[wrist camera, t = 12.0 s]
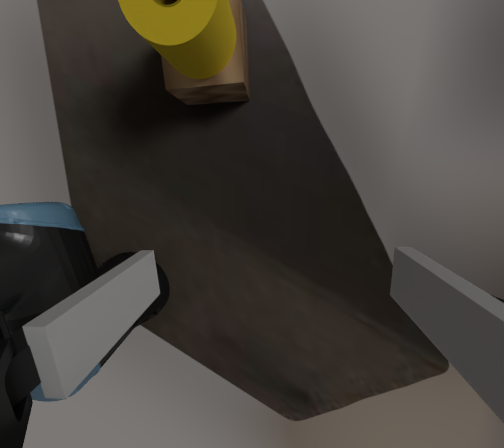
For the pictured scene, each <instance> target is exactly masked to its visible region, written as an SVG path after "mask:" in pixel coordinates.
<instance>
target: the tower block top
mask: <svg viewBox="0 0 504 448" xmlns="http://www.w3.org/2000/svg"><path fill="white" fill-rule="evenodd" d="M228 1H229V4H230V8H231V11H232V15H233V18H234V22H235V27H236V44H235V49H234V52H233V55H232V57H231V59H230V61H229V62H228V64H227V65H226V66H225V67H224V69H223V70H221V71H220V72H219V73H218V74H216V75H214V76H212V77H210V78H206V79H193V78H189V77H187V76H184V75H183V74H181V73H180V72H178V71H177V70H176V69H175V68H174V67H173V66H172V65H171V64H170V63H169V62H168V61H167V60H166V59H165V58H164V57H163V56H162V55H161V59H162V66H163V74H164V81H165V89H166V91H168V92H169V93H171V94H172V95H174V96H175V97H177V98H178V99H182V98H192V97H203V96H213V95H223V94H233V93H244V92H248V90H247V73H246V57H245V40H244V23H243V7H242V2H241V0H228Z"/></svg>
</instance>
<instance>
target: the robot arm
mask: <svg viewBox="0 0 504 448" xmlns="http://www.w3.org/2000/svg"><path fill="white" fill-rule="evenodd" d="M84 232H85V229H84V228H82V226H81V224H80V222H79V219H78V217H77V215H76V213H75V211H74V209H73V208H72V207H71V206H69V205H67V204H64V203H60V202H39V203H38V202H36V203H19V204H6V205H0V448H22V447H23V443H24V439H25V434H26V430H27V425H28V421H29V416H30V412H31V407H32V400H38V401H59V400H63V399H67V398H68V397H70V396H72V395H74V394H75V393H76V392H78V391H79V390H80V389H81V388H82V387H83V386H84V385H85V384H86V383H87V382H88V381H89V380H90V379H91V378H92V377H93V376H94V375H96V374H97V373H98V371H99V370H100V368H101V367H102V366H103V365H104V363H105V362H106V361H107V360H108V359H109V357H110V356H111V355H112V354H113V353H114V351H115V350H116V349H117V348H118V347H119V346H120V344H121V343H122V342H123V341H124V340H125V338H126V337H127V336H128V335H129V334H130V332H131V331H132V330H133V329H134V328H135V327H137V326H139V325H140V324H142V323H144V322H146V321H148V320H149V319H151V318H153V317H154V316H155V315H157V314H158V313H159V312H160V310H161V309H162V308H163V307H164V305H165V304H166V302H167V300H168V297H169V283H168V279H167V277H166V275H165V273H164V271H163V270H162V268H161V267H160V266H159V265H158V264H157V263H156V262H155V257H154V250H144V251H139V252H138V253H133V252H127V253H121V254H118V255H116V256H114V257H112V258H111V259H109V260H107V261H106V262H105V263H104V264H103V265H102V266H101V267H100V268H99V270H98V269H97V266H96V264H95V261H94V258H93V255H92V252H91V250H90V247H89V244H88V241H87V238H86V236H85V233H84ZM390 295H391V297H392V298H393V299H394V300H395V301H396V302H397V303H398V304H399V306H400V307H401V308H402V309H403V310H404V311H405V312H406V313H407V315H408V316H409V317H410V318H411V319H412V320H413V321H414V323H415V324H416V325H417V326H418V327H419V328H420V329H421V330H422V332H423V333H424V334H425V335H426V336H427V337H428V338H429V339H430V341H431V342H432V343H433V344H434V345H435V346H436V347H437V348H438V350H439V351H440V352H441V353H442V354H443V355H444V356H445V357H446V359H447V360H448V361H449V362H450V363H451V364H452V365H453V366H454V368H455V369H456V370H457V371H458V372H459V373H460V374H461V375H462V377H463V378H464V379H465V380H466V381H467V382H468V383H469V385H470V386H471V387H472V388H473V389H474V390H475V391H476V392H477V394H478V395H479V396H480V397H481V398H482V399H483V400H484V402H485V403H486V404H487V405H488V406H489V407H490V408H491V409H492V410H493V412H494V413H495V414H496V415H497V416H498V417H499V418H500V420H501V421H502V422H503V423H504V300H502V299H500V298H497V297H495V296H492V295H490V294H488V293H486V292H485V291H483V290H481V289H480V288H478V287H476V286H475V285H473V284H471V283H470V282H468V281H466V280H465V279H463V278H461V277H460V276H458V275H456V274H455V273H453V272H451V271H450V270H448V269H447V268H445V267H443V266H442V265H440V264H438V263H437V262H435V261H433V260H432V259H430V258H428V257H426V256H425V255H423V254H422V253H420V252H418V251H417V250H415V249H413V248H412V247H395V252H394V261H393V271H392V281H391V291H390Z"/></svg>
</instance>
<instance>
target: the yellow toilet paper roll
mask: <svg viewBox="0 0 504 448" xmlns="http://www.w3.org/2000/svg"><path fill="white" fill-rule="evenodd" d="M118 1H119V4H120V7H121V9H122V11H123V13H124V15H125V17H126V19H127V20H128V22H129V23H130V24H131V26H132V27H133V28H134V29H135V30H136V31H137V32H138V33H139V34H140V35H141V36H142V37H143V38H144V39H145V40H146V41H147V42H148V43H149V44H150V45H151V46H152V47H153V48H154V49H155V50H156V51H157V52H158V53H160V54H161V55H162V56H163V57H164V58H165V59H166V60H167V61H168V62H169V63H170V64H171V65H172V66H173V67H174V68H175V69H176V70H177V71H178V72H180V73H181V74H183V75H184V76H187V77H189V78H193V79H206V78H210V77H212V76H214V75H216V74H218V73H219V72H220V71H221V70H223V69H224V67H225V66H226V65H227V64H228V62H229V61H230V59H231V57H232V55H233V52H234V49H235V44H236V27H235V22H234V18H233V15H232V11H231V8H230V4H229V1H228V0H118Z"/></svg>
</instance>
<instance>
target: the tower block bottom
mask: <svg viewBox="0 0 504 448" xmlns="http://www.w3.org/2000/svg"><path fill="white" fill-rule="evenodd" d="M243 23H244V40H245V57H246V73H247V90H248V92H244V93H233V94H223V95H213V96H203V97H192V98H182V99H179V100H181V101H182V102H184V103H185V104H186V105H196V104H210V103H224V102H238V101H250V89H249V63H248V38H247V22H246V17H245V12H244V8H243Z"/></svg>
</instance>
